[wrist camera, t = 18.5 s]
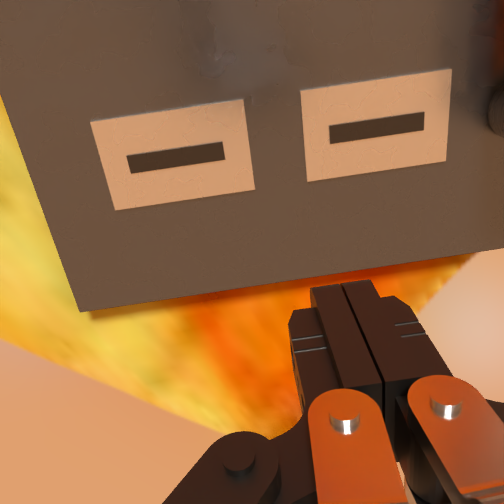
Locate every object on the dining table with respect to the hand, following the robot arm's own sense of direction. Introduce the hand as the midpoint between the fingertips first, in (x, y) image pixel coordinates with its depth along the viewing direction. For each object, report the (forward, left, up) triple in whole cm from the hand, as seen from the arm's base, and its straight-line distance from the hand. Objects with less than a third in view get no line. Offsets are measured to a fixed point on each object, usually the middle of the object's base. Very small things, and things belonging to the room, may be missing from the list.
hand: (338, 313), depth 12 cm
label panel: (+1, 0, -18) cm, 18 cm away
